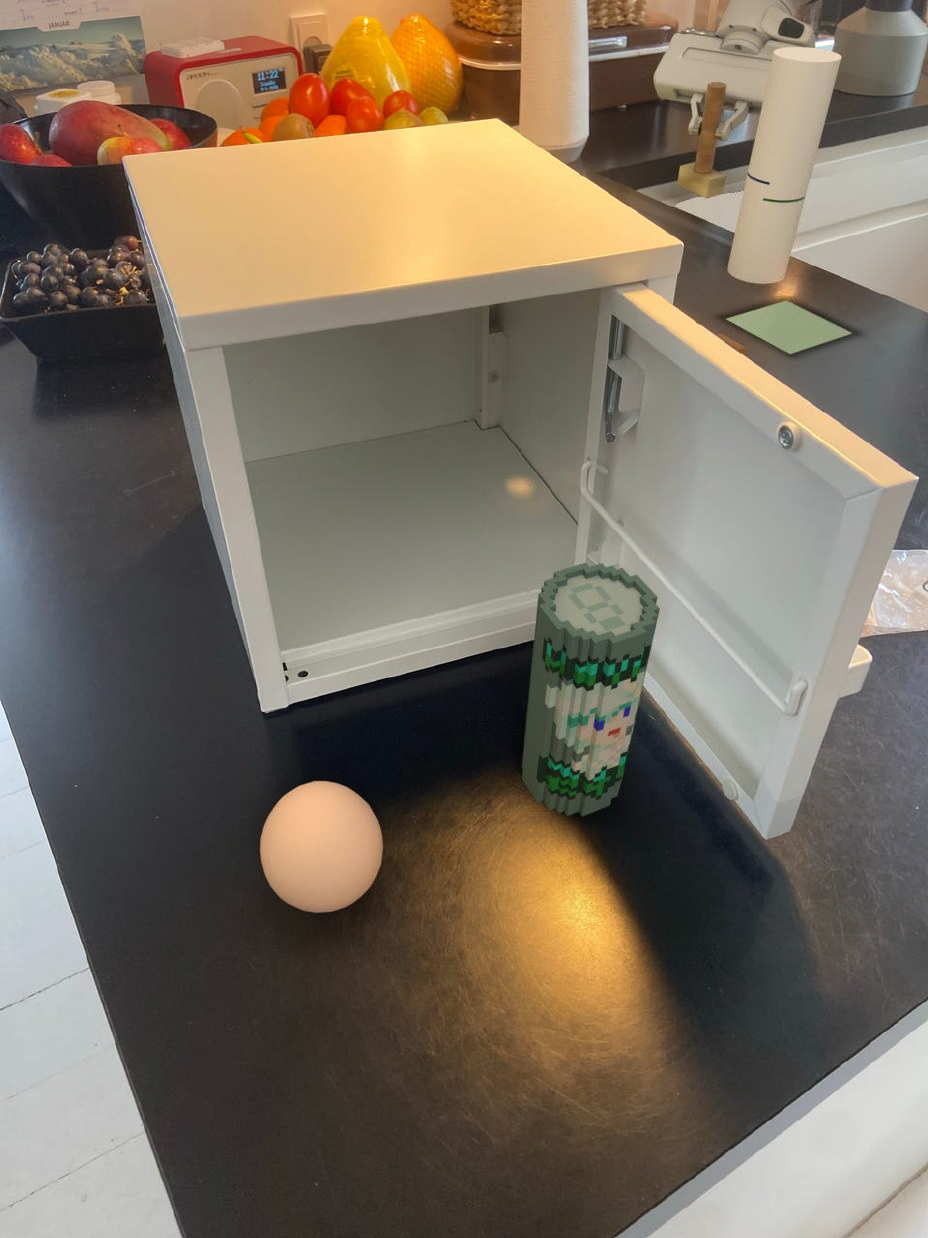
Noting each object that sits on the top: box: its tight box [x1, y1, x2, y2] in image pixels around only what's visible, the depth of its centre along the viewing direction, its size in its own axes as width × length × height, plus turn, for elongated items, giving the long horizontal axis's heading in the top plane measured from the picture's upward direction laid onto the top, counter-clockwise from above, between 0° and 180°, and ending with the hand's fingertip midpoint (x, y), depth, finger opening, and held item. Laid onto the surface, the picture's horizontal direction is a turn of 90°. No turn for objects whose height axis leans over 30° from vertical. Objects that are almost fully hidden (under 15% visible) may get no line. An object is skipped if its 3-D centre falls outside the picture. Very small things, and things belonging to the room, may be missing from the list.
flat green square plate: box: [725, 300, 853, 355], centre depth 105 cm, size 10×10×1 cm
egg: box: [259, 780, 384, 914], centre depth 50 cm, size 7×7×8 cm
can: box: [521, 562, 660, 817], centre depth 53 cm, size 6×6×15 cm
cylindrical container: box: [726, 47, 842, 285], centre depth 108 cm, size 7×7×25 cm
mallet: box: [677, 82, 727, 199], centre depth 122 cm, size 6×3×13 cm, turn 31°
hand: (707, 135), depth 121 cm, fingers closed on mallet, 2 cm apart
